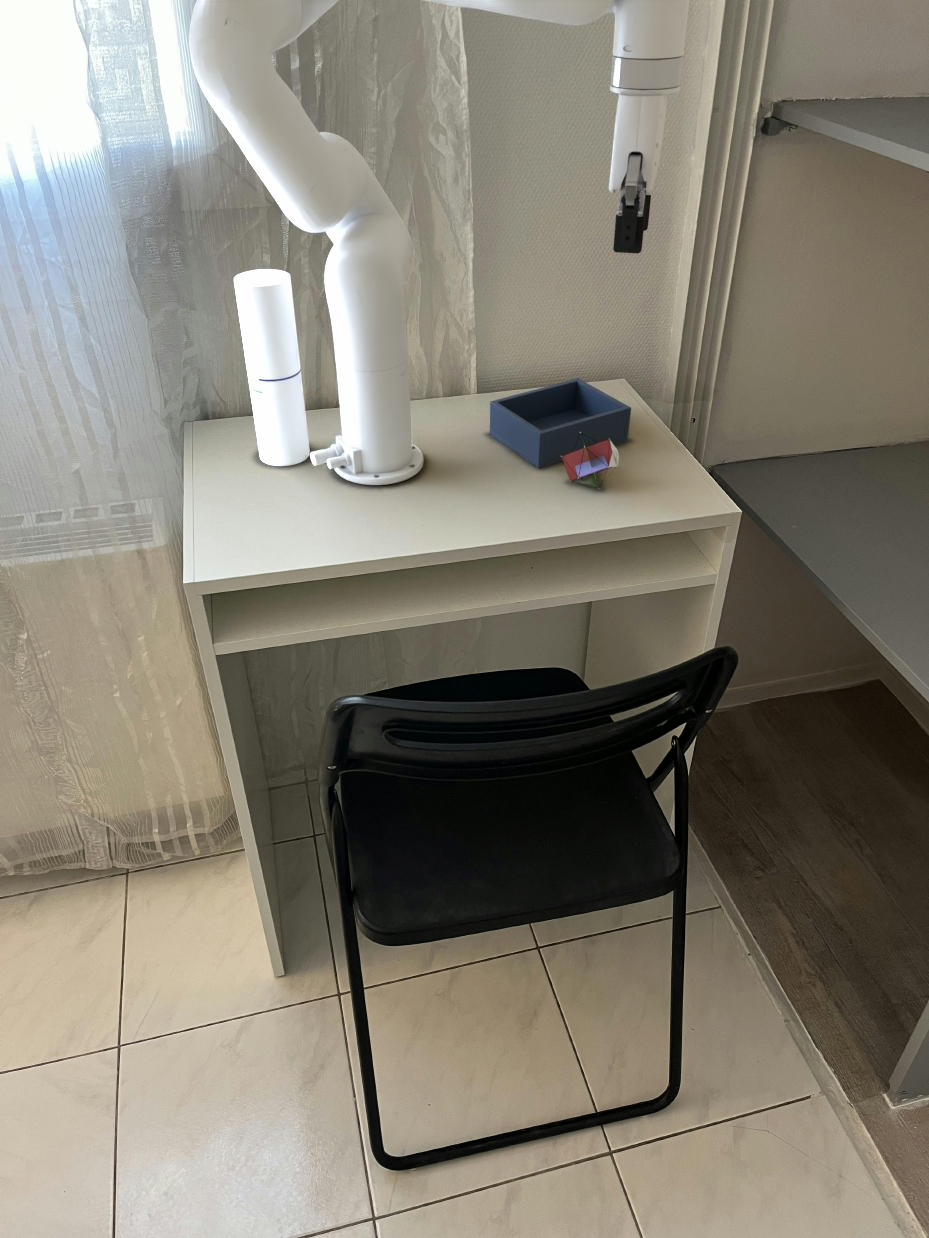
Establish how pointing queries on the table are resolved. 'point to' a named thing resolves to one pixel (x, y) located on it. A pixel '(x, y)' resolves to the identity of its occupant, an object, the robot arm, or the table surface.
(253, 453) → the table surface
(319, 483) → the table surface
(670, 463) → the table surface
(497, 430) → the bin
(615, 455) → the geometric puzzle
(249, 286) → the cylindrical container
